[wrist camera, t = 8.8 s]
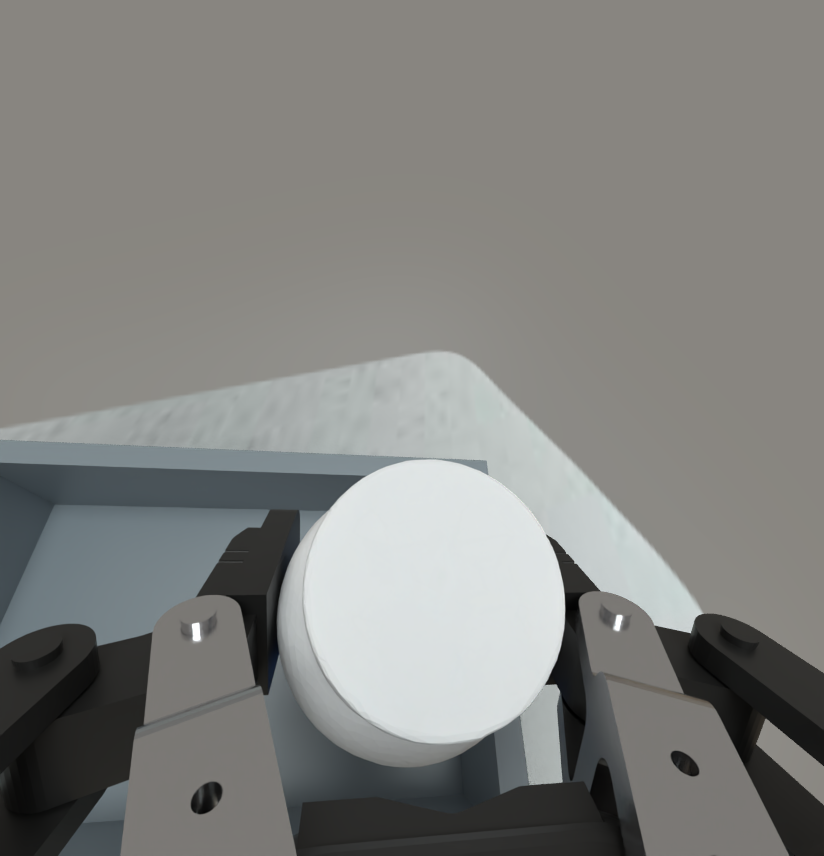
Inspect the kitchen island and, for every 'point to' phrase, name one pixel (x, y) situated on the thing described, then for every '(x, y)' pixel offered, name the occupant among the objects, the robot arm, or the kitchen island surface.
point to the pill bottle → (420, 613)
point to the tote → (196, 592)
